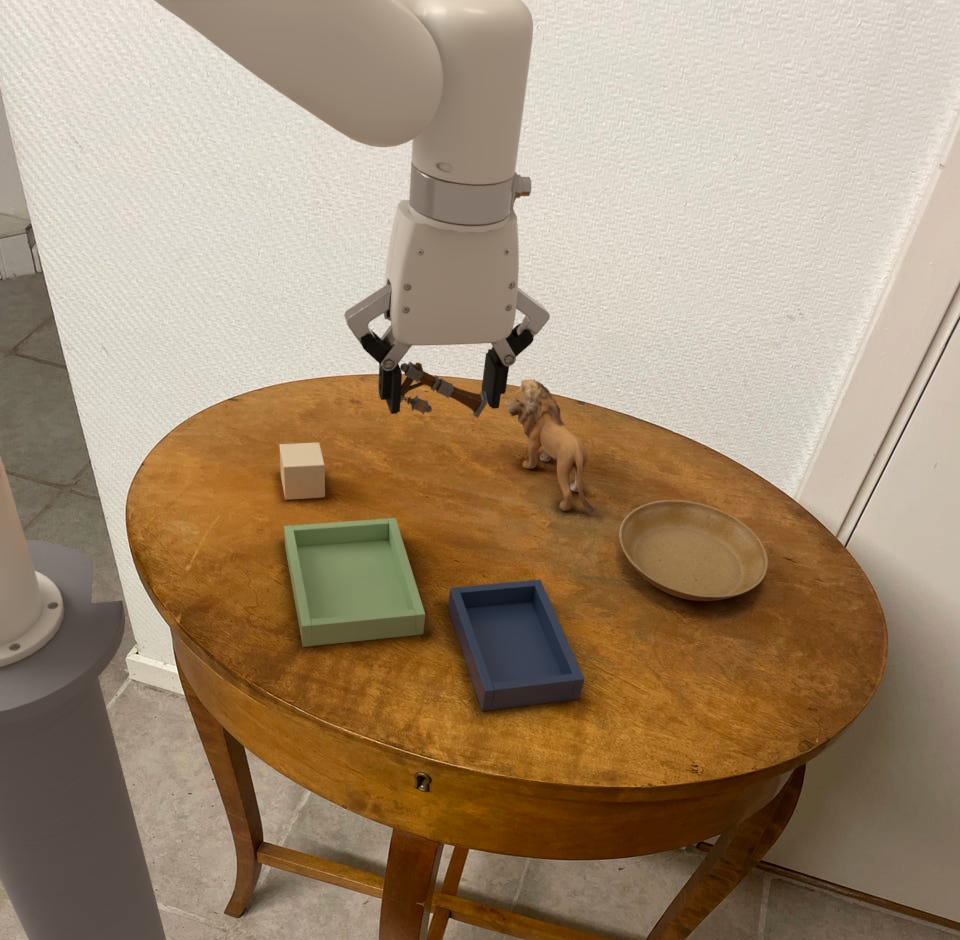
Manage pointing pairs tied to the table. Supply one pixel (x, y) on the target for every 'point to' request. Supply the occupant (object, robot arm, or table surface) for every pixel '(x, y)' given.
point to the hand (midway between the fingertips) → (441, 402)
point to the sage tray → (352, 582)
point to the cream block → (302, 470)
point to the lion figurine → (550, 437)
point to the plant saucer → (693, 550)
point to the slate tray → (514, 645)
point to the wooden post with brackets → (441, 386)
